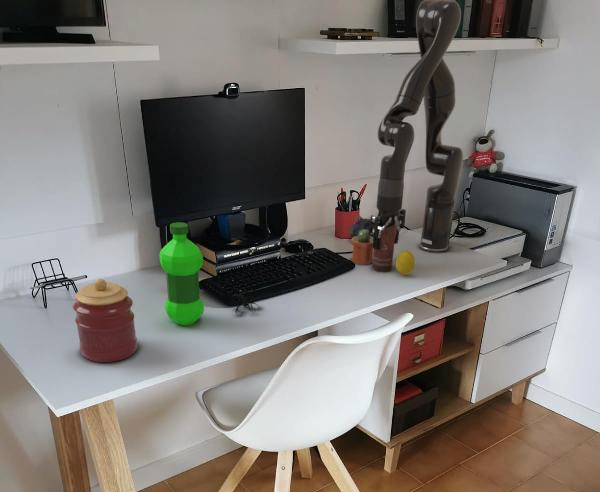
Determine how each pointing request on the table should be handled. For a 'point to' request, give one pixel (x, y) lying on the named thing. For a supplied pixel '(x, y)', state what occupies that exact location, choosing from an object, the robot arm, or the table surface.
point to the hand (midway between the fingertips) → (385, 246)
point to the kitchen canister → (105, 322)
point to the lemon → (405, 262)
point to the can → (385, 250)
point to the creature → (240, 301)
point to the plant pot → (362, 248)
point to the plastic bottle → (182, 276)
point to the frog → (359, 227)
